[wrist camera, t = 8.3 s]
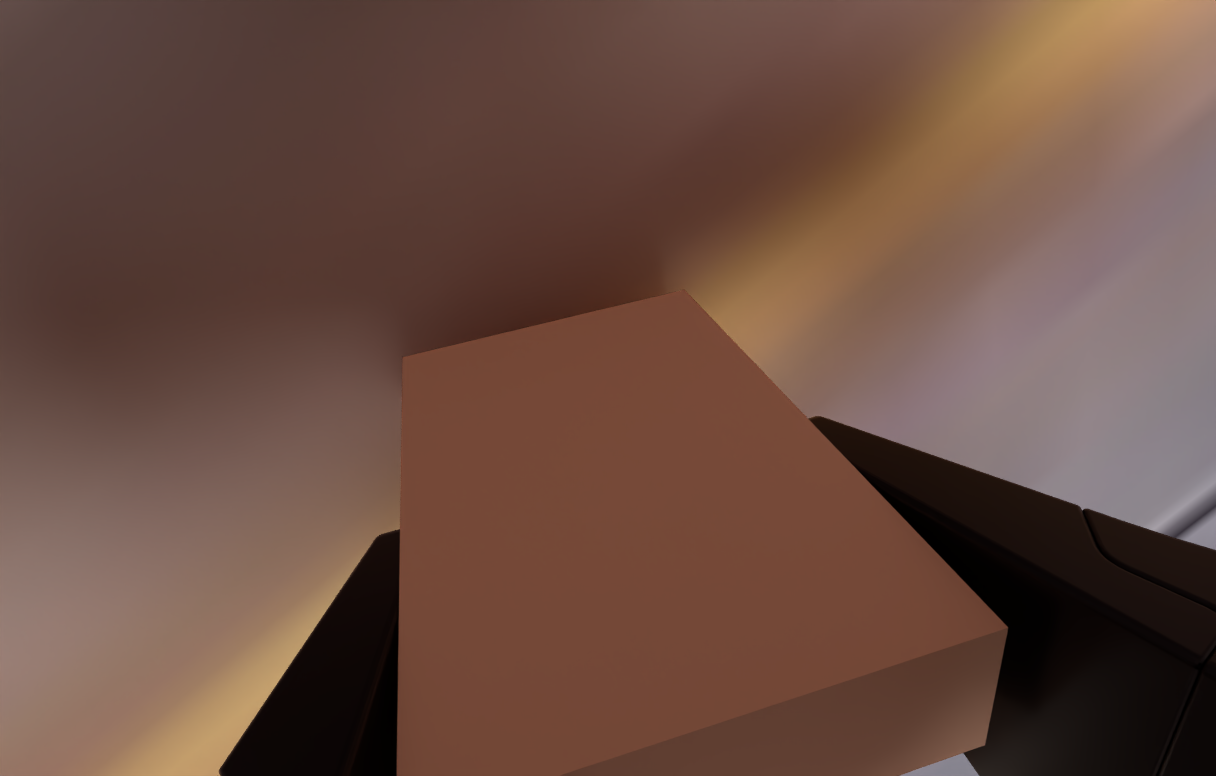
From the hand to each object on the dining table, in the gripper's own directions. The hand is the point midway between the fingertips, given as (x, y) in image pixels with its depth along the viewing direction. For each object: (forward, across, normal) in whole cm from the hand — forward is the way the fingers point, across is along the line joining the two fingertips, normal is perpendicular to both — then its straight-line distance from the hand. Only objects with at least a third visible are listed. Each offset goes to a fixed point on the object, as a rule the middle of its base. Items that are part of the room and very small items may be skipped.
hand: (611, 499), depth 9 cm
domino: (+4, 0, 0) cm, 4 cm away
